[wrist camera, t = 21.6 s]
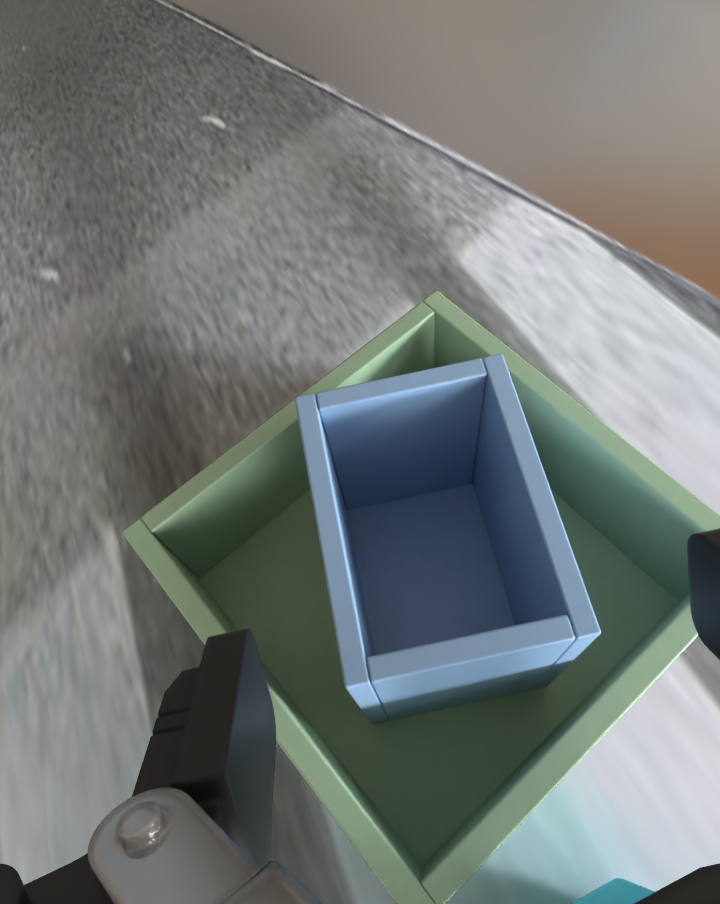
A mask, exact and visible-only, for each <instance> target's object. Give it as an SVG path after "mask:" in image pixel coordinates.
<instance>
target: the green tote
mask: <svg viewBox="0 0 720 904" xmlns="http://www.w3.org/2000/svg"><path fill="white" fill-rule="evenodd" d="M497 354H502V355H503V356H504V359H505V362H506V365H507V368H508V370H509V373H510V376H511V379H512V382H513V384H514V387H515V390H516V393H517V396H518V399H519V401H520V404H521V407H522V410H523V413H524V416H525V418H526V421H527V424H528V427H529V430H530V433H531V435H532V438H533V441H534V444H535V447H536V449H537V452H538V455H539V458H540V461H541V464H542V466H543V469H544V472H545V475H546V478H547V481H548V483H549V486H550V489H551V492H552V495H553V497H554V500H555V503H556V506H557V509H558V512H559V514H560V517H561V520H562V523H563V526H564V529H565V531H566V534H567V537H568V540H569V543H570V545H571V548H572V551H573V554H574V557H575V560H576V562H577V565H578V568H579V571H580V574H581V577H582V579H583V582H584V585H585V588H586V591H587V594H588V596H589V599H590V602H591V605H592V608H593V610H594V613H595V616H596V619H597V622H598V625H599V627H600V630H601V634H600V635H599V636H598V637H597V638H596V639H595V640H593V641H592V642H591V643H590V644H589V645H588V646H587V647H586V648H585V649H584V650H583V651H582V652H581V653H580V654H579V655H578V656H577V657H576V658H575V659H574V660H573V661H572V662H571V663H570V664H569V665H568V666H567V667H566V668H565V669H564V670H563V671H562V672H561V673H560V674H559V675H558V676H557V677H556V678H555V679H554V680H553V681H552V682H551V683H550V684H549V685H548V686H547V687H543V688H538V689H533V690H529V691H524V692H519V693H515V694H510V695H505V696H501V697H496V698H492V699H487V700H482V701H478V702H473V703H468V704H464V705H459V706H454V707H450V708H445V709H441V710H436V711H431V712H427V713H422V714H417V715H413V716H408V717H403V718H399V719H394V720H390V721H385V722H380V723H376V724H371V723H370V721H369V720H368V718H367V717H366V715H365V714H364V713H363V711H362V710H361V709H360V707H359V706H358V704H357V703H356V702H355V700H354V699H353V698H352V696H351V695H350V693H349V692H348V691H347V689H346V688H345V686H344V681H343V675H342V669H341V663H340V658H339V652H338V646H337V640H336V634H335V629H334V623H333V617H332V611H331V606H330V600H329V594H328V588H327V583H326V577H325V571H324V565H323V559H322V554H321V548H320V542H319V536H318V531H317V525H316V519H315V513H314V507H313V502H312V496H311V490H310V484H309V479H308V473H307V467H306V461H305V456H304V450H303V444H302V438H301V432H300V427H299V421H298V415H297V409H296V404H295V399H294V400H293V401H292V402H290V403H289V404H288V405H286V406H285V407H284V408H282V409H281V410H280V411H279V412H277V413H276V414H275V415H273V416H272V417H271V418H269V419H268V420H267V421H266V422H264V423H263V424H262V425H260V426H259V427H258V428H256V429H255V430H254V431H252V432H251V433H250V434H249V435H247V436H246V437H245V438H243V439H242V440H241V441H239V442H238V443H237V444H236V445H234V446H233V447H232V448H230V449H229V450H228V451H226V452H225V453H224V454H223V455H221V456H220V457H219V458H217V459H216V460H215V461H213V462H212V463H211V464H209V465H208V466H207V467H206V468H204V469H203V470H202V471H200V472H199V473H198V474H196V475H195V476H194V477H193V478H191V479H190V480H189V481H187V482H186V483H185V484H183V485H182V486H181V487H179V488H178V489H177V490H176V491H174V492H173V493H172V494H170V495H169V496H168V497H166V498H165V499H164V500H163V501H161V502H160V503H159V504H157V505H156V506H155V507H153V508H152V509H151V510H150V511H148V512H147V513H146V514H144V515H143V516H142V517H141V519H142V520H141V519H138V520H136V521H135V522H134V523H133V524H131V525H130V526H129V527H127V528H126V529H125V530H123V532H122V533H123V535H124V537H125V538H126V539H127V541H128V542H129V543H130V545H131V546H132V547H133V549H134V550H135V551H136V553H137V554H138V555H139V557H140V558H141V560H142V561H143V562H144V564H145V565H146V566H147V568H148V569H149V570H150V572H151V573H152V574H153V576H154V577H155V578H156V580H157V581H158V582H159V584H160V585H161V586H162V588H163V589H164V590H165V592H166V593H167V595H168V596H169V597H170V599H171V600H172V601H173V603H174V604H175V605H176V607H177V608H178V609H179V611H180V612H181V613H182V615H183V616H184V617H185V619H186V620H187V621H188V623H189V624H190V626H191V627H192V628H193V630H194V631H195V632H196V634H197V635H198V636H199V638H200V639H201V640H202V642H203V643H204V644H206V641H207V638H208V637H210V636H214V635H219V634H224V633H228V632H233V631H238V630H242V629H247V628H249V629H250V630H251V632H252V634H253V636H254V639H255V643H256V646H257V650H258V653H259V657H260V660H261V664H262V667H263V671H264V675H265V678H266V682H267V685H268V689H269V692H270V696H271V700H272V704H273V709H274V715H275V722H276V741H277V743H278V744H279V745H280V747H281V748H282V750H283V751H284V752H285V754H286V755H287V756H288V758H289V759H290V760H291V762H292V763H293V764H294V766H295V767H296V768H297V770H298V771H299V772H300V774H301V775H302V776H303V778H304V779H305V780H306V782H307V783H308V785H309V786H310V787H311V789H312V790H313V791H314V793H315V794H316V795H317V797H318V798H319V799H320V801H321V802H322V803H323V805H324V806H325V807H326V809H327V810H328V811H329V813H330V814H331V816H332V817H333V818H334V820H335V821H336V822H337V824H338V825H339V826H340V828H341V829H342V830H343V832H344V833H345V834H346V836H347V837H348V838H349V840H350V841H351V842H352V844H353V845H354V847H355V848H356V849H357V851H358V852H359V853H360V855H361V856H362V857H363V859H364V860H365V861H366V863H367V864H368V865H369V867H370V868H371V869H372V871H373V872H374V873H375V875H376V876H377V878H378V879H379V880H380V882H381V883H382V884H383V886H384V887H385V888H386V890H387V891H388V892H389V894H390V895H391V896H392V898H393V899H394V900H395V902H396V903H397V904H446V903H447V902H448V901H449V900H450V899H451V898H452V897H453V896H454V894H455V893H456V892H457V891H458V890H459V889H460V888H461V887H462V886H463V885H464V884H465V883H466V882H467V881H468V880H469V879H470V877H471V876H472V875H473V874H474V873H475V872H476V871H477V870H478V869H479V868H480V867H481V866H482V865H483V864H484V863H485V861H486V860H487V859H488V858H489V857H490V856H491V855H492V854H493V853H494V852H495V851H496V850H497V849H498V848H499V847H500V846H501V844H502V843H503V842H504V841H505V840H506V839H507V838H508V837H509V836H510V835H511V834H512V833H513V832H514V831H515V830H516V829H517V827H518V826H519V825H520V824H521V823H522V822H523V821H524V820H525V819H526V818H527V817H528V816H529V815H530V814H531V813H532V812H533V810H534V809H535V808H536V807H537V806H538V805H539V804H540V803H541V802H542V801H543V800H544V799H545V798H546V797H547V796H548V794H549V793H550V792H551V791H552V790H553V789H554V788H555V787H556V786H557V785H558V784H559V783H560V782H561V781H562V780H563V779H564V777H565V776H566V775H567V774H568V773H569V772H570V771H571V770H572V769H573V768H574V767H575V766H576V765H577V764H578V763H579V762H580V760H581V759H582V758H583V757H584V756H585V755H586V754H587V753H588V752H589V751H590V750H591V749H592V748H593V747H594V746H595V745H596V743H597V742H598V741H599V740H600V739H601V738H602V737H603V736H604V735H605V734H606V733H607V732H608V731H609V730H610V729H611V728H612V726H613V725H614V724H615V723H616V722H617V721H618V720H619V719H620V718H621V717H622V716H623V715H624V714H625V713H626V712H627V710H628V709H629V708H630V707H631V706H632V705H633V704H634V703H635V702H636V701H637V700H638V699H639V698H640V697H641V696H642V695H643V693H644V692H645V691H646V690H647V689H648V688H649V687H650V686H651V685H652V684H653V683H654V682H655V681H656V680H657V679H658V678H659V676H660V675H661V674H662V673H663V672H664V671H665V670H666V669H667V668H668V667H669V666H670V665H671V664H672V663H673V662H674V661H675V659H676V658H677V657H678V656H679V655H680V654H681V653H682V652H683V651H684V650H685V649H686V648H687V647H688V646H689V645H690V644H691V642H692V641H693V640H694V639H695V638H696V637H697V636H698V633H697V631H696V628H695V626H694V623H693V620H692V615H691V608H690V591H689V573H688V556H687V543H688V539H689V537H690V536H691V535H692V534H695V533H700V532H704V531H709V530H713V529H718V528H720V516H719V515H718V514H717V513H716V512H714V511H713V510H712V509H711V508H709V507H708V506H707V505H706V504H704V503H703V502H702V501H701V500H699V499H698V498H697V497H696V496H694V495H693V494H692V493H691V492H689V491H688V490H687V489H686V488H684V487H683V486H682V485H680V484H679V483H678V482H677V481H675V480H674V479H673V478H672V477H670V476H669V475H668V474H667V473H665V472H664V471H663V470H662V469H660V468H659V467H658V466H657V465H655V464H654V463H653V462H652V461H650V460H649V459H648V458H647V457H645V456H644V455H643V454H642V453H640V452H639V451H638V450H637V449H635V448H634V447H633V446H631V445H630V444H629V443H628V442H626V441H625V440H624V439H623V438H621V437H620V436H619V435H618V434H616V433H615V432H614V431H613V430H611V429H610V428H609V427H608V426H606V425H605V424H604V423H603V422H601V421H600V420H599V419H598V418H596V417H595V416H594V415H593V414H591V413H590V412H589V411H588V410H586V409H585V408H584V407H582V406H581V405H580V404H579V403H577V402H576V401H575V400H574V399H572V398H571V397H570V396H569V395H567V394H566V393H565V392H564V391H562V390H561V389H560V388H559V387H557V386H556V385H555V384H554V383H552V382H551V381H550V380H549V379H547V378H546V377H545V376H544V375H542V374H541V373H540V372H539V371H537V370H536V369H535V368H533V367H532V366H531V365H530V364H528V363H527V362H526V361H525V360H523V359H522V358H521V357H520V356H518V355H517V354H516V353H515V352H513V351H512V350H511V349H510V348H508V347H507V346H506V345H505V344H503V343H502V342H501V341H500V340H498V339H497V338H496V337H495V336H493V335H492V334H491V333H490V332H488V331H487V330H486V329H484V328H483V327H482V326H481V325H479V324H478V323H477V322H476V321H474V320H473V319H472V318H471V317H469V316H468V315H467V314H466V313H464V312H463V311H462V310H461V309H459V308H458V307H457V306H456V305H454V304H453V303H452V302H451V301H449V300H448V299H447V298H446V297H444V296H443V295H442V294H441V293H439V292H438V291H435V292H433V293H432V294H431V295H430V296H428V297H427V298H426V299H424V300H423V302H421V303H419V304H418V305H417V306H415V307H414V308H413V309H412V310H410V311H409V312H408V313H406V314H405V315H404V316H402V317H401V318H400V319H398V320H397V321H396V322H395V323H393V324H392V325H391V326H389V327H388V328H387V329H385V330H384V331H383V332H382V333H380V334H379V335H378V336H376V337H375V338H374V339H372V340H371V341H370V342H369V343H367V344H366V345H365V346H363V347H362V348H361V349H359V350H358V351H357V352H355V353H354V354H353V355H352V356H350V357H349V358H348V359H346V360H345V361H344V362H342V363H341V364H340V365H339V366H337V367H336V368H335V369H333V370H332V371H331V372H329V373H328V374H327V375H325V376H324V377H323V378H322V379H320V380H319V381H318V382H316V383H315V384H314V385H312V386H311V387H310V388H309V389H307V390H306V391H305V392H303V393H302V394H301V395H299V396H304V395H308V394H315V395H316V393H318V392H323V391H327V390H332V389H337V388H342V387H346V386H351V385H356V384H360V383H365V382H370V381H375V380H379V379H384V378H389V377H393V376H398V375H403V374H408V373H412V372H417V371H422V370H427V369H431V368H436V367H441V366H445V365H450V364H455V363H460V362H464V361H469V360H474V359H479V358H481V359H482V360H483V358H484V357H488V356H492V355H497ZM299 396H298V397H299Z"/></svg>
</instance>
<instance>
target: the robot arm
mask: <svg viewBox="0 0 720 904" xmlns="http://www.w3.org/2000/svg"><path fill="white" fill-rule="evenodd" d="M687 556H688V573H689V591H690V608H691V615H692V620H693V623H694V626H695V628H696V631H697V633H698V635H699V637H700V638H701V640H702V641H703V643H704V644H705V645H706V646H707V647H708V649H709V650H710V651H711V652H712V653H713V654H714V655H715V656H716V657H717V658H718V659H719V660H720V528H718V529H713V530H709V531H704V532H700V533H695V534H692V535H691V536H690V537H689V539H688V543H687ZM158 715H159V718H157V719H156V722H155V725H154V728H153V736H151V738H150V741H149V744H148V747H147V751H146V754H145V757H144V760H143V763H142V766H141V770H140V773H139V776H138V779H137V782H136V785H135V789H134V792H133V795H132V798H130V799H128V800H126V801H125V802H123V803H122V804H120V805H119V806H118V807H116V808H115V809H114V810H113V811H111V812H110V813H109V814H108V815H107V816H106V817H105V818H104V819H103V821H102V822H101V823H100V824H99V826H98V827H97V829H96V830H95V832H94V834H93V836H92V838H91V840H90V843H89V847H88V853H87V854H86V855H84V856H82V857H81V858H79V859H77V860H75V861H73V862H72V863H70V864H68V865H65V866H63V867H61V868H59V869H57V870H55V871H53V872H51V873H49V874H47V875H45V876H42V877H40V878H38V879H36V880H34V881H32V882H30V883H28V884H26V885H23V883H22V880H21V878H20V876H19V874H18V872H17V871H16V870H15V869H14V868H13V867H11V866H9V865H6V864H0V904H321V903H320V902H319V901H318V900H317V899H316V898H315V897H314V896H313V895H312V894H311V893H310V892H309V891H308V890H307V889H306V888H305V887H304V886H303V885H302V884H301V883H300V882H299V881H298V880H297V879H296V878H295V877H294V876H293V875H292V874H291V873H290V872H289V871H288V870H287V869H286V868H285V867H283V866H282V865H281V864H279V863H278V862H276V861H270V862H269V846H270V830H271V814H272V797H273V781H274V765H275V749H276V722H275V715H274V709H273V704H272V700H271V696H270V692H269V689H268V685H267V682H266V678H265V675H264V671H263V667H262V664H261V660H260V657H259V653H258V650H257V646H256V643H255V639H254V636H253V634H252V632H251V630H250V629H249V628H247V629H242V630H238V631H233V632H228V633H224V634H219V635H214V636H210V637H208V638H207V641H206V644H205V648H204V652H203V656H202V660H201V664H200V667H199V668H195V669H190V670H185V671H182V672H181V673H180V675H179V676H178V677H177V678H176V679H175V681H174V682H173V683H172V684H171V685H170V687H169V688H168V689H167V690H166V691H165V694H164V697H163V700H162V703H161V706H160V709H159V713H158ZM268 862H269V863H268ZM634 904H720V864H716V865H711V866H706V867H702V868H699V869H697V870H695V871H693V872H692V873H690V874H688V875H686V876H684V877H682V878H681V879H679V880H677V881H675V882H673V883H671V884H669V885H668V886H666V887H664V888H662V889H660V890H658V891H657V892H655V893H653V894H651V895H649V896H647V897H645V898H644V899H642V900H640V901H638V902H636V903H634Z"/></svg>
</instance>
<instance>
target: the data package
mask: <svg viewBox="0 0 720 904" xmlns="http://www.w3.org/2000/svg"><path fill="white" fill-rule="evenodd" d="M653 893H655V892H654V891H652V890H649V889H647V888H644V887H642V886H639V885H636V884H634V883H631V882H629V881H626V880H624V879H619V878H617V879H614V880H612V881H610V882H609V883H607V884H605V885H603V886H602V887H600V888H598V889H596V890H594V891H593V892H591V893H589V894H587V895H586V896H584V897H582V898H580V899H579V900H577V901H575V902H573V903H572V904H634V903H636V902H638V901H640V900H642V899H644V898H645V897H647V896H649V895H651V894H653Z"/></svg>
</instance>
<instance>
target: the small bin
mask: <svg viewBox="0 0 720 904" xmlns="http://www.w3.org/2000/svg"><path fill="white" fill-rule="evenodd" d="M295 404H296V409H297V415H298V421H299V427H300V432H301V438H302V444H303V450H304V456H305V461H306V467H307V473H308V479H309V484H310V490H311V496H312V502H313V507H314V513H315V519H316V525H317V531H318V536H319V542H320V548H321V554H322V559H323V565H324V571H325V577H326V583H327V588H328V594H329V600H330V606H331V611H332V617H333V623H334V629H335V634H336V640H337V646H338V652H339V658H340V663H341V669H342V675H343V681H344V686H345V688H346V689H347V691H348V692H349V693H350V695H351V696H352V698H353V699H354V700H355V702H356V703H357V704H358V706H359V707H360V709H361V710H362V711H363V713H364V714H365V715H366V717H367V718H368V720H369V721H370V723H371V724H376V723H380V722H385V721H390V720H394V719H399V718H403V717H408V716H413V715H417V714H422V713H427V712H431V711H436V710H441V709H445V708H450V707H454V706H459V705H464V704H468V703H473V702H478V701H482V700H487V699H492V698H496V697H501V696H505V695H510V694H515V693H519V692H524V691H529V690H533V689H538V688H543V687H547V686H548V685H549V684H550V683H551V682H552V681H553V680H554V679H555V678H556V677H557V676H558V675H559V674H560V673H561V672H562V671H563V670H564V669H565V668H566V667H567V666H568V665H569V664H570V663H571V662H572V661H573V660H574V659H575V658H576V657H577V656H578V655H579V654H580V653H581V652H582V651H583V650H584V649H585V648H586V647H587V646H588V645H589V644H590V643H591V642H592V641H593V640H595V639H596V638H597V637H598V636H599V635H600V634H601V630H600V627H599V625H598V622H597V619H596V616H595V613H594V610H593V608H592V605H591V602H590V599H589V596H588V594H587V591H586V588H585V585H584V582H583V579H582V577H581V574H580V571H579V568H578V565H577V562H576V560H575V557H574V554H573V551H572V548H571V545H570V543H569V540H568V537H567V534H566V531H565V529H564V526H563V523H562V520H561V517H560V514H559V512H558V509H557V506H556V503H555V500H554V497H553V495H552V492H551V489H550V486H549V483H548V481H547V478H546V475H545V472H544V469H543V466H542V464H541V461H540V458H539V455H538V452H537V449H536V447H535V444H534V441H533V438H532V435H531V433H530V430H529V427H528V424H527V421H526V418H525V416H524V413H523V410H522V407H521V404H520V401H519V399H518V396H517V393H516V390H515V387H514V384H513V382H512V379H511V376H510V373H509V370H508V368H507V365H506V362H505V359H504V356H503V355H502V354H497V355H492V356H488V357H484V358H483V360H482V359H481V358H479V359H474V360H469V361H464V362H460V363H455V364H450V365H445V366H441V367H436V368H431V369H427V370H422V371H417V372H412V373H408V374H403V375H398V376H393V377H389V378H384V379H379V380H375V381H370V382H365V383H360V384H356V385H351V386H346V387H342V388H337V389H332V390H327V391H323V392H318V393H316V395H315V394H308V395H304V396H299V397H296V398H295Z"/></svg>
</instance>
